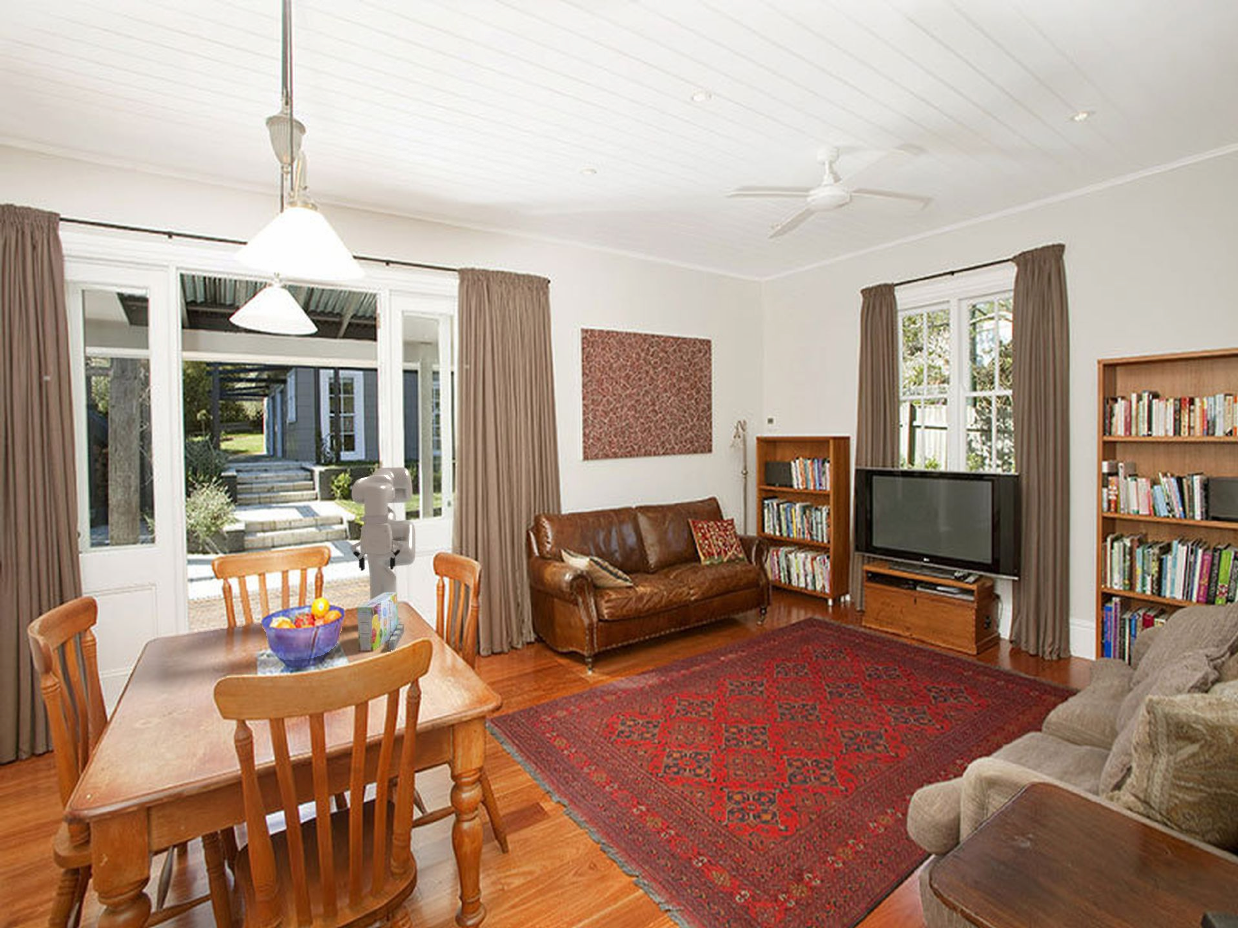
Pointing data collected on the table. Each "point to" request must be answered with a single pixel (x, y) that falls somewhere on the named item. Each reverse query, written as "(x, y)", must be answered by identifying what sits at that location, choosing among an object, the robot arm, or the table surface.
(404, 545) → the robot arm
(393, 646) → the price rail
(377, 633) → the snack box
